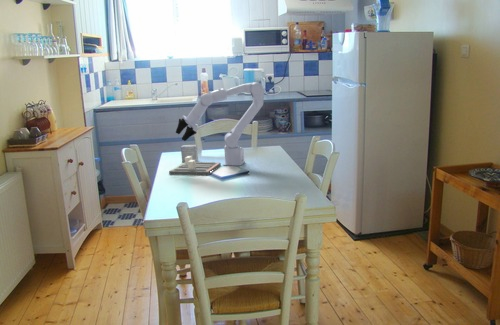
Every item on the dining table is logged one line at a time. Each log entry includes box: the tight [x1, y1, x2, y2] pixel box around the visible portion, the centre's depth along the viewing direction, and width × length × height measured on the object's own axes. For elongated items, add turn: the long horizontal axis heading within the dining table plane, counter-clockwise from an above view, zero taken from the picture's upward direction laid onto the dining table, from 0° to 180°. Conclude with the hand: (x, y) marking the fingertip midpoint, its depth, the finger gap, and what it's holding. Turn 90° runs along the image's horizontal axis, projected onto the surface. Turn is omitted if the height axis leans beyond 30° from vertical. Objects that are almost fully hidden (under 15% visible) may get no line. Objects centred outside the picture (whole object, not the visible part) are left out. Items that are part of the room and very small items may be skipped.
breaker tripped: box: [188, 160, 196, 169], centre depth 222 cm, size 2×4×4 cm, turn 165°
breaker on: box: [185, 156, 193, 164], centre depth 231 cm, size 2×4×4 cm, turn 164°
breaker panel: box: [168, 161, 222, 176], centre depth 226 cm, size 20×18×2 cm
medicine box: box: [180, 144, 199, 163], centre depth 244 cm, size 8×4×9 cm, turn 84°
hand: (180, 136), depth 228 cm, fingers open, 7 cm apart
